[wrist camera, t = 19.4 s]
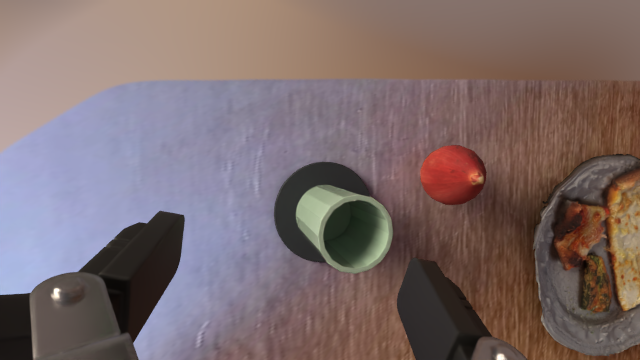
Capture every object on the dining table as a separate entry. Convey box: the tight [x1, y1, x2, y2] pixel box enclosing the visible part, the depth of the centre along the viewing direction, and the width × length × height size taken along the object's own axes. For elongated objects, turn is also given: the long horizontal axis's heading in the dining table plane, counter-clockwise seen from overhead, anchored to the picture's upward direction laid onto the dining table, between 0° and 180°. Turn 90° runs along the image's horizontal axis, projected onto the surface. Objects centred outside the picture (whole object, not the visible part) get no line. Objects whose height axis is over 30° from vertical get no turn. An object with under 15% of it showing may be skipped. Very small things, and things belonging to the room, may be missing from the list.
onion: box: [421, 145, 486, 205], centre depth 33 cm, size 6×6×8 cm
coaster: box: [274, 162, 370, 262], centre depth 34 cm, size 10×10×1 cm
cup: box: [296, 185, 393, 274], centre depth 29 cm, size 6×6×9 cm
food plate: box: [533, 154, 640, 356], centre depth 42 cm, size 25×23×4 cm
